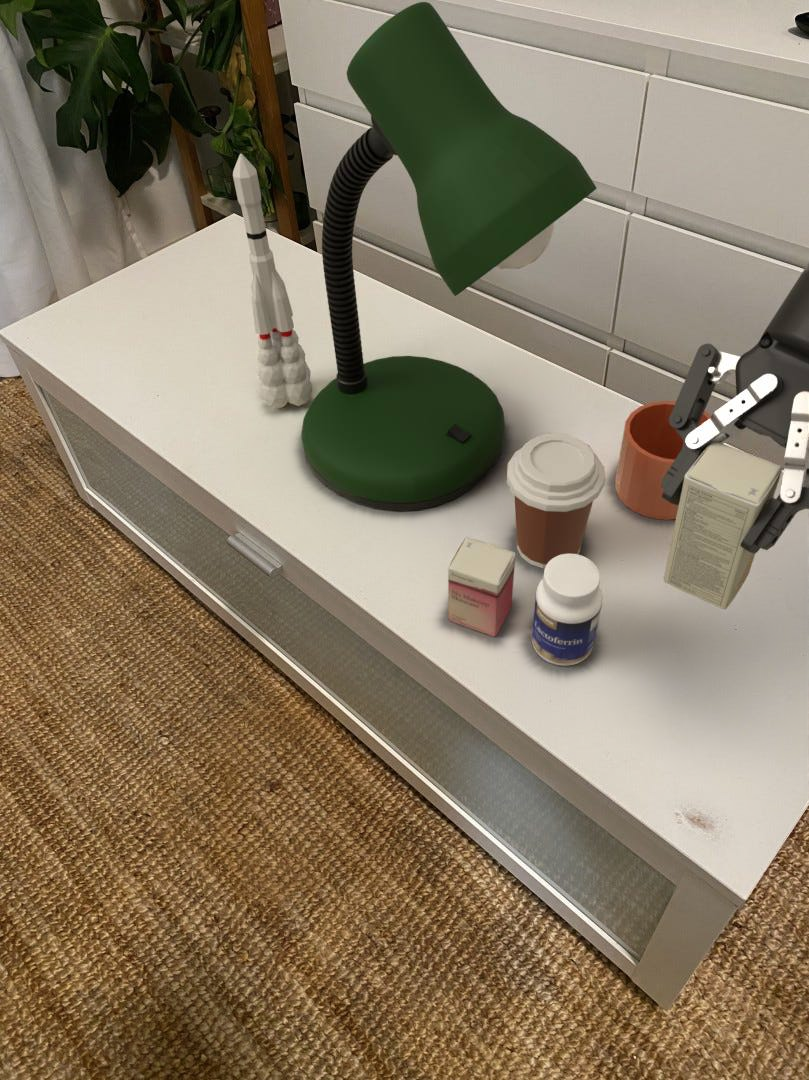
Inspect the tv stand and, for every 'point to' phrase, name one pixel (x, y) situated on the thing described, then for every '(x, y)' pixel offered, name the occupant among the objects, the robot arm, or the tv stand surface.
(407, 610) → the tv stand surface
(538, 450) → the coffee cup
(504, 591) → the small box
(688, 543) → the box
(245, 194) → the rocket model
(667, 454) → the terracotta plant pot
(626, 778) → the tv stand surface
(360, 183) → the desk lamp
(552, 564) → the pill bottle
